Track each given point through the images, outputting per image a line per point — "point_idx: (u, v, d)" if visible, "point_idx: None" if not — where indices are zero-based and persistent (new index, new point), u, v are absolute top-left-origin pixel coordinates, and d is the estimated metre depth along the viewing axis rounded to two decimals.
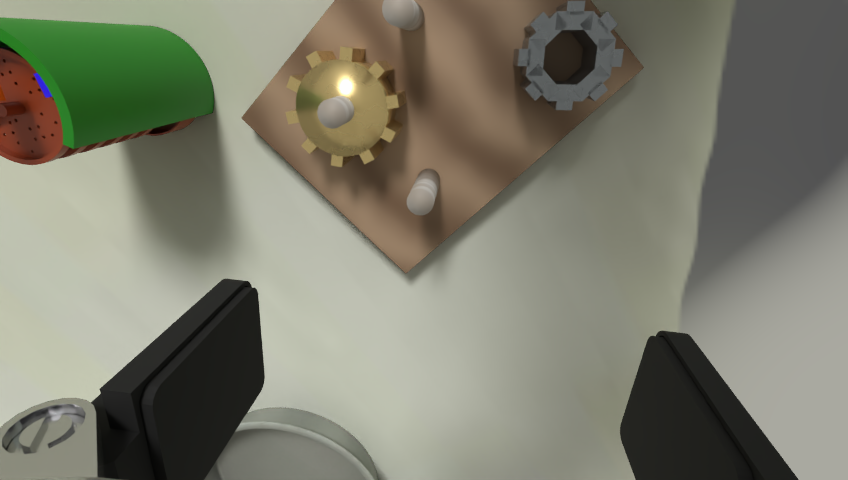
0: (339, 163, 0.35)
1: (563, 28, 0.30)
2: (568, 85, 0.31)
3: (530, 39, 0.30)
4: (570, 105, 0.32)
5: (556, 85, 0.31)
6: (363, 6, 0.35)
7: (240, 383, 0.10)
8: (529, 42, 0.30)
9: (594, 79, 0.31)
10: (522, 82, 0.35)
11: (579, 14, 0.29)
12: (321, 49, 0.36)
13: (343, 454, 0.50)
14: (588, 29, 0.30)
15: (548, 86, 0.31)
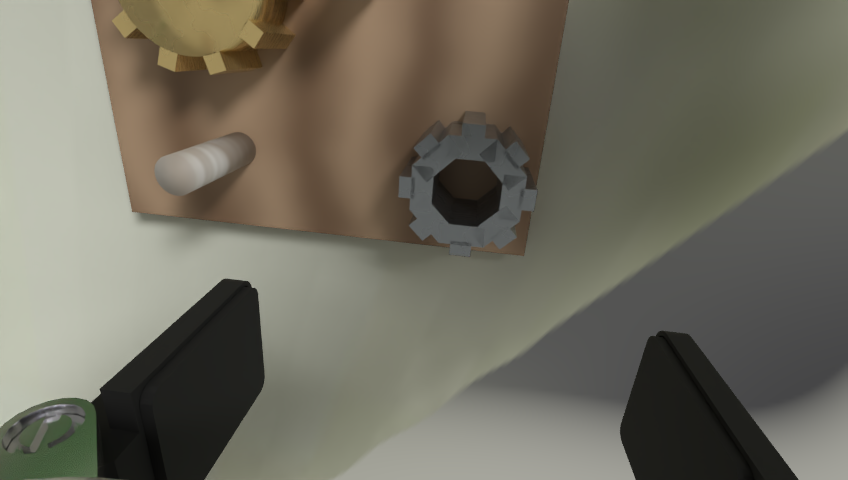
0: (125, 30, 0.22)
1: (487, 161, 0.22)
2: (441, 216, 0.23)
3: (449, 136, 0.21)
4: (425, 235, 0.24)
5: (430, 204, 0.23)
6: None
7: (240, 383, 0.10)
8: (445, 138, 0.22)
9: (467, 235, 0.23)
10: (415, 158, 0.26)
11: (512, 165, 0.22)
12: None
13: None
14: (506, 187, 0.22)
15: (422, 197, 0.23)
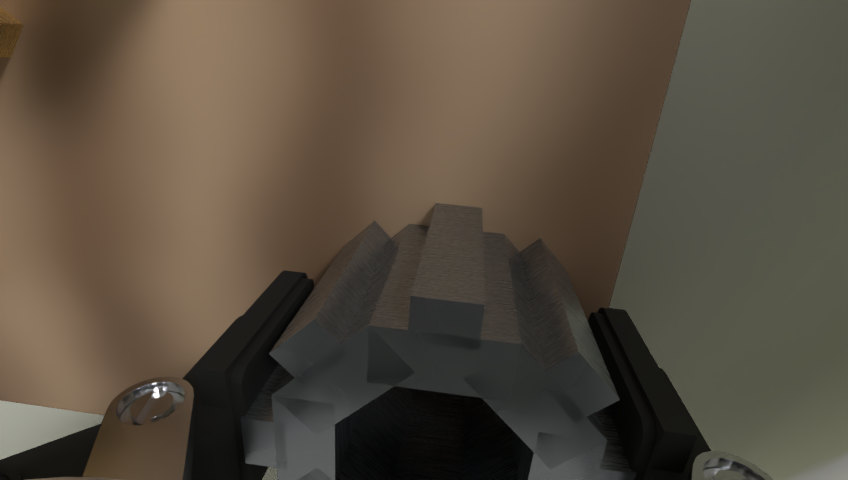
0: None
1: (488, 397, 0.07)
2: None
3: (371, 331, 0.07)
4: None
5: None
6: None
7: None
8: (361, 332, 0.07)
9: None
10: None
11: (566, 411, 0.07)
12: None
13: None
14: (544, 461, 0.08)
15: (310, 468, 0.08)
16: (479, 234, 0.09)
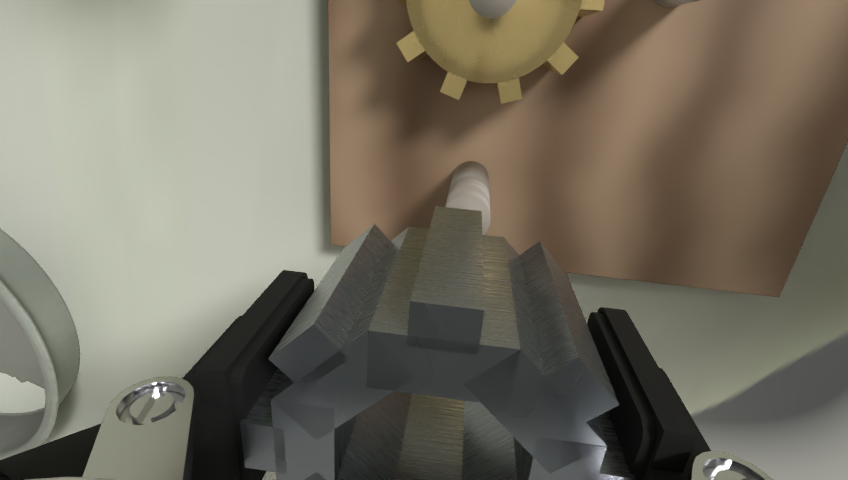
0: (410, 53, 0.19)
1: (488, 402, 0.07)
2: None
3: (370, 336, 0.07)
4: None
5: None
6: None
7: None
8: (361, 337, 0.07)
9: None
10: None
11: (565, 417, 0.07)
12: None
13: (40, 360, 0.31)
14: (544, 465, 0.08)
15: (309, 473, 0.08)
16: (478, 238, 0.09)
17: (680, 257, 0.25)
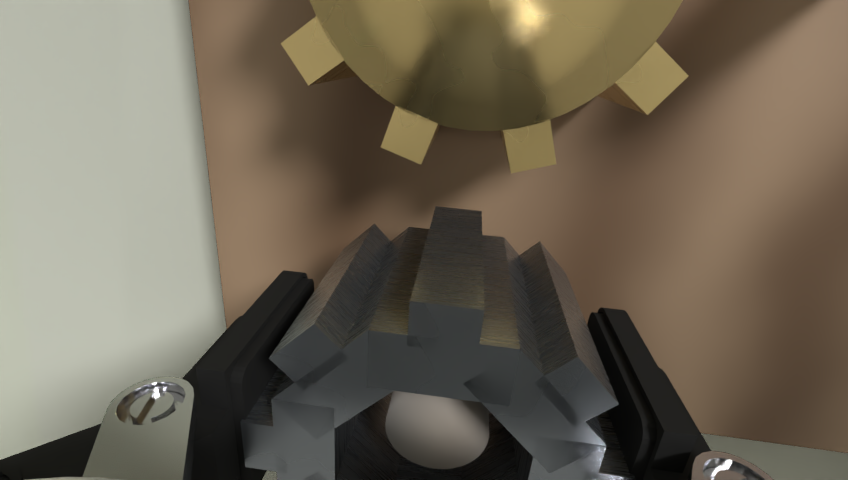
0: (312, 67, 0.09)
1: (488, 402, 0.07)
2: None
3: (370, 336, 0.07)
4: None
5: None
6: None
7: None
8: (361, 337, 0.07)
9: None
10: None
11: (564, 416, 0.07)
12: None
13: None
14: (543, 465, 0.08)
15: (310, 472, 0.08)
16: (478, 238, 0.09)
17: (808, 406, 0.15)
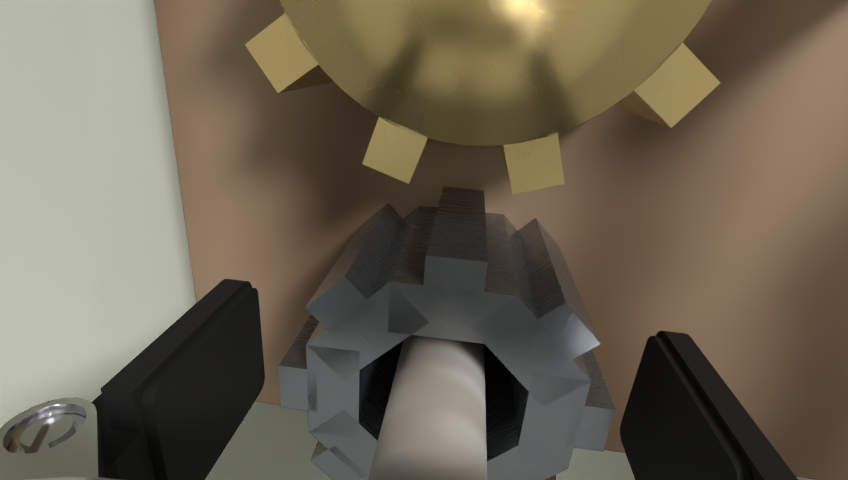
0: (281, 72, 0.08)
1: (490, 343, 0.09)
2: None
3: (392, 286, 0.08)
4: None
5: (356, 425, 0.10)
6: None
7: (240, 383, 0.10)
8: (384, 288, 0.08)
9: None
10: None
11: (555, 355, 0.09)
12: None
13: None
14: (538, 399, 0.09)
15: (337, 410, 0.10)
16: (482, 211, 0.10)
17: (834, 438, 0.14)
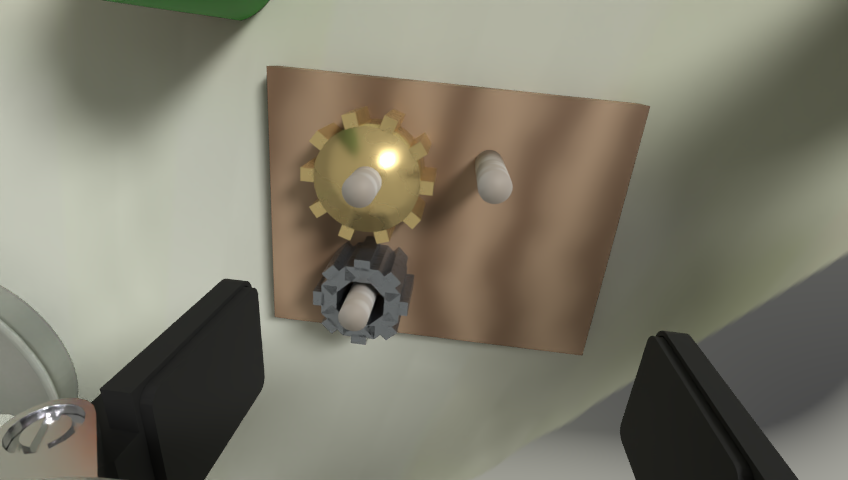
0: (317, 213, 0.30)
1: (372, 283, 0.32)
2: None
3: (345, 267, 0.31)
4: (333, 330, 0.33)
5: (335, 310, 0.33)
6: (465, 115, 0.31)
7: (240, 383, 0.10)
8: (343, 268, 0.31)
9: (363, 330, 0.33)
10: None
11: (390, 286, 0.31)
12: (398, 102, 0.31)
13: (50, 399, 0.41)
14: (387, 300, 0.32)
15: (330, 305, 0.32)
16: (376, 245, 0.33)
17: (515, 329, 0.37)
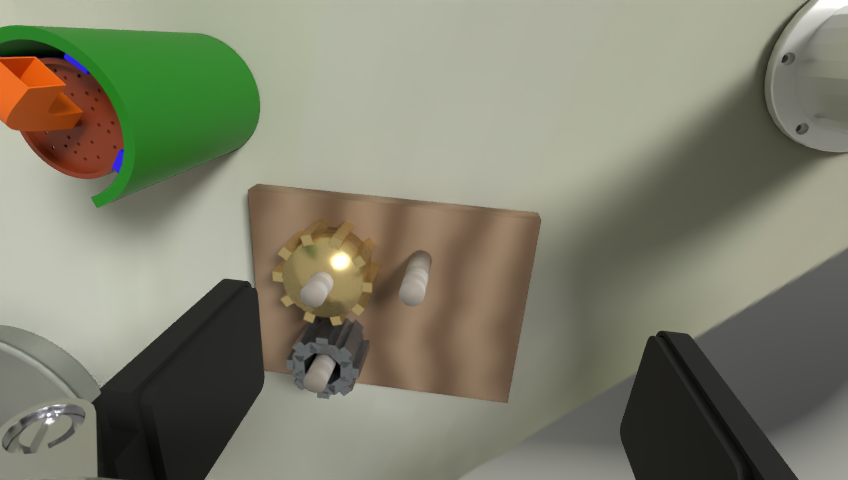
0: (287, 303, 0.40)
1: (331, 354, 0.41)
2: None
3: (309, 343, 0.41)
4: (303, 387, 0.43)
5: (304, 373, 0.42)
6: (399, 225, 0.40)
7: (240, 383, 0.10)
8: (308, 343, 0.41)
9: (326, 388, 0.43)
10: None
11: (344, 357, 0.41)
12: (348, 216, 0.40)
13: None
14: (342, 367, 0.41)
15: (299, 370, 0.42)
16: None
17: (452, 382, 0.46)
